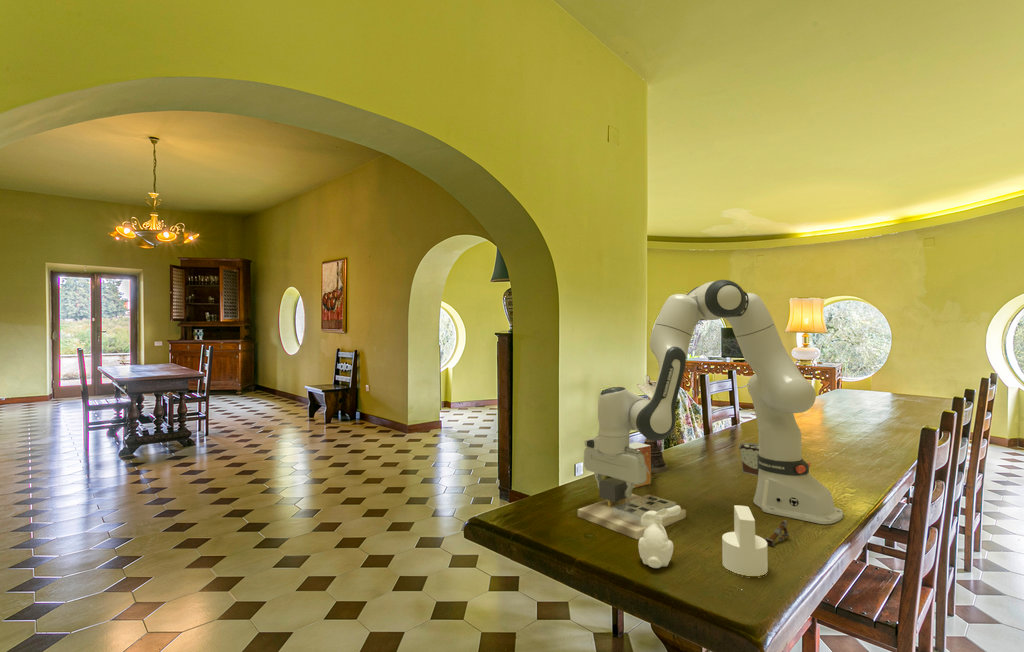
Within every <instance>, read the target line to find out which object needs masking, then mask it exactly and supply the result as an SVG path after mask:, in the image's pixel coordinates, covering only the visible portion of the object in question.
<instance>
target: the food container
mask: <svg viewBox="0 0 1024 652" xmlns="http://www.w3.org/2000/svg"><path fill="white" fill-rule="evenodd" d="M738 450H740V451H739V452H740V461H741V468H742V469H741V470H742V473H745V474H748V475H749V474H750V475H753V476H757V477H758V470H757V455H758V454H759V443H752V442H743V443H739V445H738Z"/></svg>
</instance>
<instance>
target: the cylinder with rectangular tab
mask: <svg viewBox="0 0 1024 652" xmlns="http://www.w3.org/2000/svg"><path fill="white" fill-rule="evenodd" d="M733 509H734V510H733V522H734V524H733V527H734V528H733V529H734V531H729V532H726V533H723V534H722V537H721V542H722V545H721V547H722V548H721V551H722V552H721V553H722V558H721V559H722V566H724V567H725V568H726V569H728V570H730V571H732V572H734V573H737V574H741V575H746V576H760V575H764V574H766V573H767V572H768V571H769V570H768V568H769V567H768V563H769V562H768V558H769V557H768V544H767V542H766V540H765V538H763V537H761V536H759V535H757V534H756V520H755V518H754V515H753V513H752V511H751V509H750V507H749V506H746V505H733ZM724 567H723V568H724ZM725 568H724V569H725ZM726 569H725V570H726ZM728 570H727V571H728ZM734 573H733V574H734ZM767 574H768V573H767ZM767 574H766V575H767Z"/></svg>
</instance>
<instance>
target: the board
mask: <svg viewBox="0 0 1024 652" xmlns="http://www.w3.org/2000/svg"><path fill="white" fill-rule="evenodd" d="M640 497H642V495H637V494H634V493H632V496H631V497H629V498H625V503H627V502H629V501H632V500H635V499H637V498H640ZM619 505H621V504H620V501H617V502H613V505H612V506H608V500H607V499H603V500H601V501H598V502H595V503H593V504H589V505H586V506H584V507H581V508H578V509H577V517H578V518H581V519H583V520H586V521H588V522H590V523H593V524H595V525H599V526H601V527H603V528H606V529H609V530H611V531H614V532H617V533H618V534H619V533H620V534H622V535H624V536H626V537H629V538H632V539H635V540H639V539H640V538H641V537H643V535H644V530H645V528H646V526H643V527H639V526H636V525H634V524H631V523H628V522H625V521H623V520H620V519H617V518H614V517H613V507H616V506H619ZM686 516H687V509H684V508H681V511H680V513H679V514H678V515H675V516H669V517H665V518H662V526H663V527H664V528H666V527H668V526H669V525H672V524H675V523H676V522H679V521H681V520H684V519H686V518H687V517H686ZM685 517H686V518H685Z"/></svg>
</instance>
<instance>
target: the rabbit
mask: <svg viewBox="0 0 1024 652" xmlns="http://www.w3.org/2000/svg"><path fill="white" fill-rule="evenodd" d="M681 509H682V508H681V505H677V504H676V506H674V507H671V508H668V509H661V510H659V511H658V512H656V511H648V512H646V513H644V514H643V515H642V517H641V524H642V525H644V526H646V528H645V530H644V535H643V537H641V538H640V539H638V543H637V544H638V545H637V548H638V553H639V557H640V558H641V561H642V563H643V564H644V565H647V566H648V567H651V568H653V569H660V568H663V567H668V566H669V563H670V562H671V559H672V557H673V552H674V543H673V541H672V540H670V539H669V537H668V534H667V531H666V530H667V529H665V528H666V527H663V526H662V518H665V517H669V516H675V515H678V514H679V513H680V511H681Z"/></svg>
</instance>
